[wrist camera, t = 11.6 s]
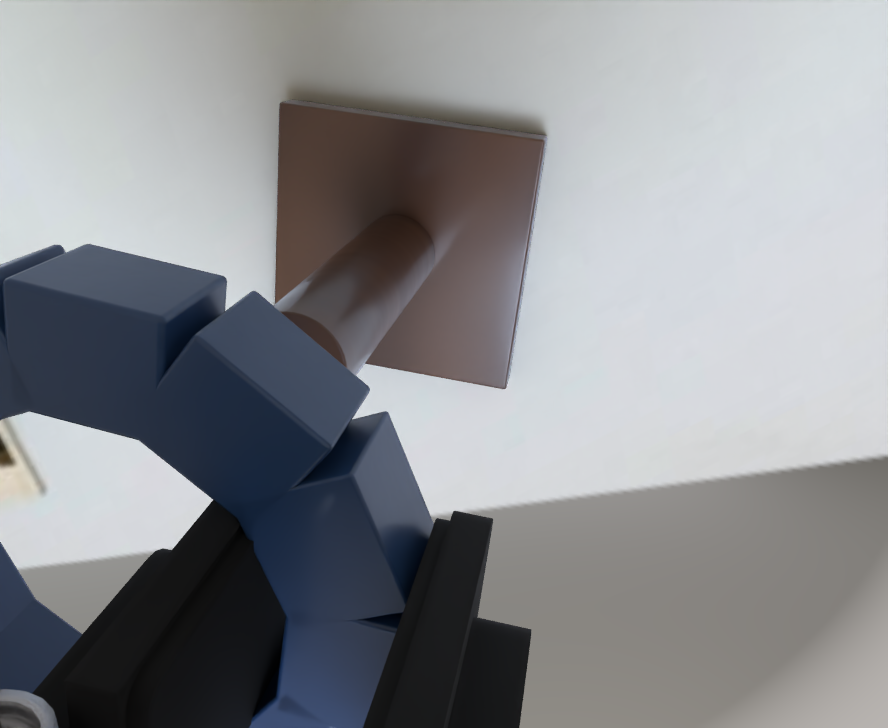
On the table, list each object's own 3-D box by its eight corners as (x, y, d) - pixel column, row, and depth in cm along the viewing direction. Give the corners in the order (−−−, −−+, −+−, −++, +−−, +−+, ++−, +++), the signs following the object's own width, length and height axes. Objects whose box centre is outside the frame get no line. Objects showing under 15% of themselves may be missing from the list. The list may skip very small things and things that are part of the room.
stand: (547, 135, 24) (506, 207, 15) (509, 377, 27) (456, 558, 18) (290, 99, 25) (103, 144, 16) (284, 336, 28) (126, 487, 19)
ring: (287, 159, 9) (225, 185, 8) (512, 715, 12) (499, 813, 10) (-217, 343, 12) (-335, 390, 10) (64, 767, 14) (2, 852, 13)
